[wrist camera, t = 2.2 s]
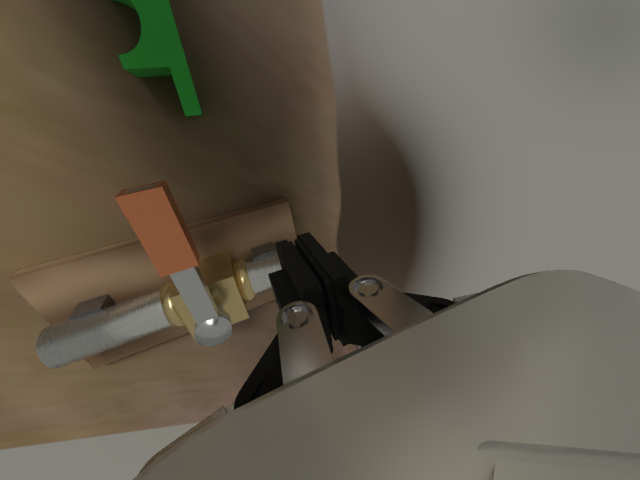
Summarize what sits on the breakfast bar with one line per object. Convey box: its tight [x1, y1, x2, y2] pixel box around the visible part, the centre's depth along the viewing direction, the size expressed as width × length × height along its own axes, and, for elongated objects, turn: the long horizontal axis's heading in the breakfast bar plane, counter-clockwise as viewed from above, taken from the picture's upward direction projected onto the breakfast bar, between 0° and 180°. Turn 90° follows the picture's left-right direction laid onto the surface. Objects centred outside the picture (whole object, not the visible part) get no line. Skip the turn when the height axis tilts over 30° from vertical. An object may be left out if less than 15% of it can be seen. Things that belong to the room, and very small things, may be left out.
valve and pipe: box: [36, 242, 281, 368], centre depth 24 cm, size 5×22×5 cm, turn 99°
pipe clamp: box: [113, 0, 203, 117], centre depth 17 cm, size 11×4×5 cm, turn 6°
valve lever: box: [115, 180, 232, 346], centre depth 19 cm, size 13×3×3 cm, turn 9°
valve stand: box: [7, 198, 297, 369], centre depth 27 cm, size 12×24×2 cm, turn 99°
